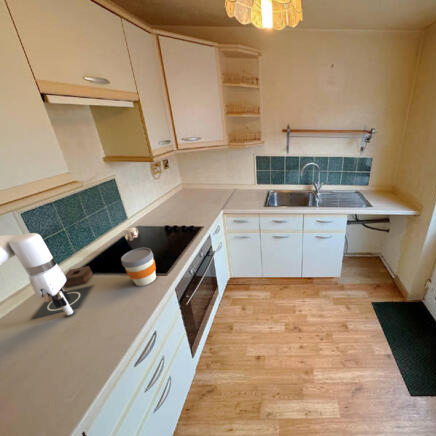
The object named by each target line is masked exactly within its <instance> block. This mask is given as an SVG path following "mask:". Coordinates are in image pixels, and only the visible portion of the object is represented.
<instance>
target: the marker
mask: <svg viewBox="0 0 436 436" xmlns="http://www.w3.org/2000/svg"><path fill="white" fill-rule="evenodd" d="M59 294H60V296H61V297H63V298H64V300H65V301H66V303H67V305H66V306H62V309H63V310H64V314H65V315H66V317H72V316H73V315H74V314H75V312H74V309H72V308H71V307H70V305H69V303H68V302H67V300H66V298H65V297H64V295H63V293H62V292H61V291H59ZM54 296H56V295H54Z"/></svg>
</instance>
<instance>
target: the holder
mask: <svg viewBox="0 0 436 436" xmlns="http://www.w3.org/2000/svg"><path fill="white" fill-rule="evenodd" d="M64 275H65V277H66V279H67V280H66V282H65V288H70V287H73V286H80V285H84V284H87V283H88V281H89V280H90V279H91V277H92V275H93V271H92V269H91V268H90V265H87V266H82V267H81V266H80V267H77V268H72V269H69V270H68V271H67V272H66V273H65V274H64Z"/></svg>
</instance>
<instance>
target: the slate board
mask: <svg viewBox="0 0 436 436" xmlns="http://www.w3.org/2000/svg"><path fill="white" fill-rule="evenodd" d="M91 288H92V285H91V286H86V287H82V288H77V289H72V290H67V291H66V292H67V293H68V295H69V297H70V300H69V301H67V302H68V303H69V305H70V307H71V308H72V310H76V309H79V308H80V306H81V305H82V303H83V301H84V300H85V298H86V296H87V295H88V293H89V292H90V290H91ZM63 312H64V310H63V309H62V307H58V308H57V307H56V306H55V304H54V303H53V301H50V302H45V301H44V303H43V305H42V306H41V307H40V308H39V310H38V311H37V312H36V313H35V315H34V316H33V317H32V320H34V319H38V318H42V317H47V316H51V315H56V314H59V313H63ZM64 313H65V312H64Z"/></svg>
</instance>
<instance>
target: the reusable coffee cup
mask: <svg viewBox="0 0 436 436" xmlns="http://www.w3.org/2000/svg"><path fill="white" fill-rule="evenodd" d="M120 261H121V265H122V267H124V268H125V269H124V270H125V272H126V274H127V275H128V277H129V278H130V279H131V280H132V281H133V283H134V284H135V285H136V286H138V287H143V286H146V285H149V284H151V283H153V282H154V281H155V280H156V279H157V274H156V270H157V267H156V261H155V258H154V253H153V251H152V249H151V248H149V247H143V248H138V249H134V250H132V249H131V250H129V251H127V252H126V253H124V254H123V255H122V256H121V258H120Z"/></svg>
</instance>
